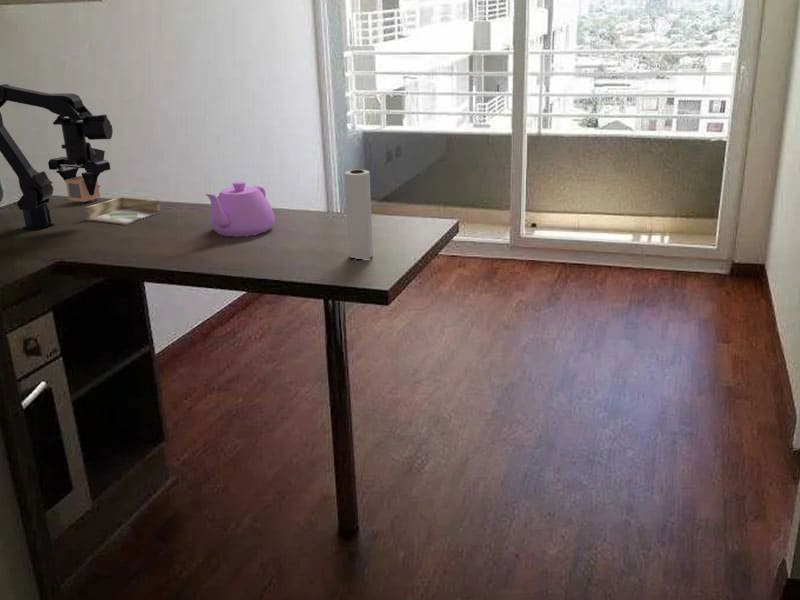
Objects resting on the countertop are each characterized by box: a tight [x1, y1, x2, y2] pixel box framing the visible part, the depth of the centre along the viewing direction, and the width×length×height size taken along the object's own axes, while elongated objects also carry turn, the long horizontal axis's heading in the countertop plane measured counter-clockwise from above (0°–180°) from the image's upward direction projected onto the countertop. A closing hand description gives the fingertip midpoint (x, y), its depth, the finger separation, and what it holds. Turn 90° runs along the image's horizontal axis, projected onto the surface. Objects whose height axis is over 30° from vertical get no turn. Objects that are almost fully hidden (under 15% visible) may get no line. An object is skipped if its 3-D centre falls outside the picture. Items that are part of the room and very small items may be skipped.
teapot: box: [205, 181, 276, 237], centre depth 222 cm, size 25×18×14 cm
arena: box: [84, 196, 161, 226], centre depth 243 cm, size 15×15×4 cm
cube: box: [65, 175, 101, 203], centre depth 229 cm, size 6×6×6 cm
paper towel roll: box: [344, 169, 374, 259], centre depth 193 cm, size 7×6×21 cm
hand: (84, 194), depth 230 cm, fingers closed on cube, 6 cm apart
